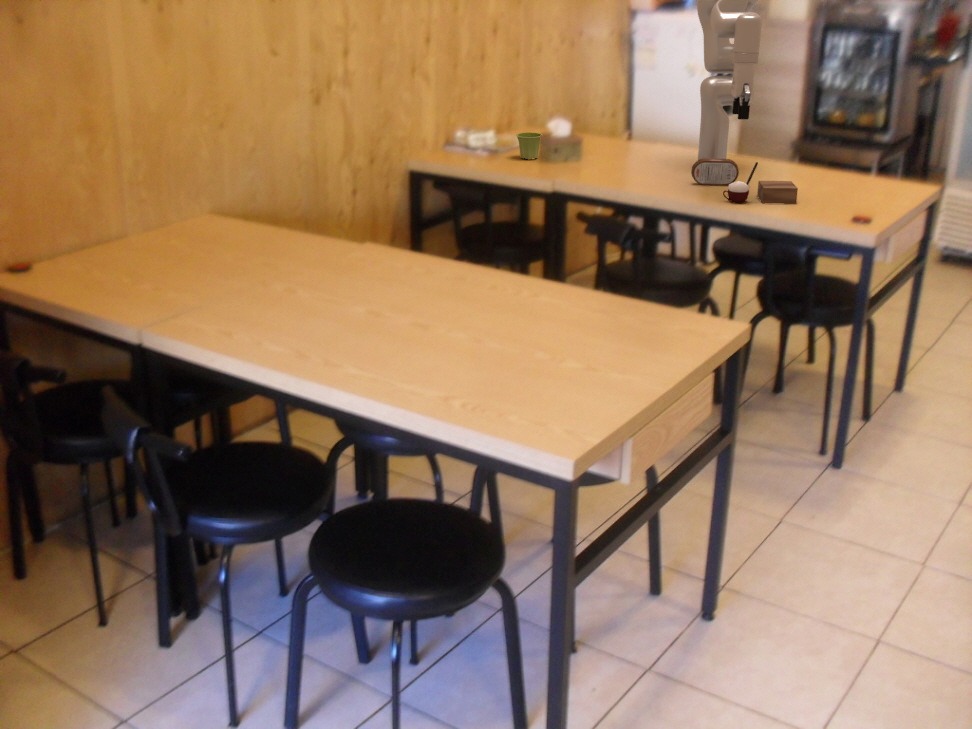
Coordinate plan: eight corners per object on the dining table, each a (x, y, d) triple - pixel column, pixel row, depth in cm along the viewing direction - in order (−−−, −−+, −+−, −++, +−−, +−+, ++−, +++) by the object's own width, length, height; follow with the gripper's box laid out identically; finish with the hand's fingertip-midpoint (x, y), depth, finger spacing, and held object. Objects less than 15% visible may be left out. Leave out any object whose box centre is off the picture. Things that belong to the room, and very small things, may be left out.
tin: (737, 184, 338) (739, 158, 334) (738, 186, 335) (740, 160, 332) (690, 183, 339) (692, 157, 336) (691, 185, 336) (692, 159, 333)
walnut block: (757, 196, 323) (758, 180, 321) (789, 197, 322) (791, 181, 320) (762, 204, 314) (764, 188, 312) (795, 204, 313) (797, 188, 311)
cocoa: (721, 203, 315) (722, 164, 310) (726, 198, 320) (728, 159, 315) (752, 205, 311) (754, 166, 306) (757, 200, 316) (759, 161, 311)
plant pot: (545, 160, 374) (545, 136, 371) (520, 161, 372) (520, 137, 368) (537, 155, 382) (537, 131, 379) (512, 156, 380) (513, 133, 377)
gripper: (728, 55, 316) (723, 112, 323) (737, 61, 300) (732, 121, 307) (752, 55, 316) (747, 112, 322) (763, 61, 300) (758, 121, 306)
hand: (740, 116), depth 315 cm, fingers open, 9 cm apart
